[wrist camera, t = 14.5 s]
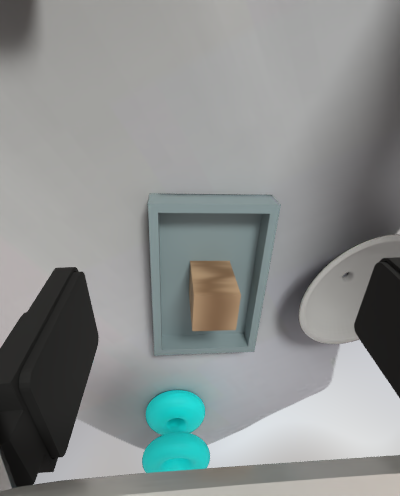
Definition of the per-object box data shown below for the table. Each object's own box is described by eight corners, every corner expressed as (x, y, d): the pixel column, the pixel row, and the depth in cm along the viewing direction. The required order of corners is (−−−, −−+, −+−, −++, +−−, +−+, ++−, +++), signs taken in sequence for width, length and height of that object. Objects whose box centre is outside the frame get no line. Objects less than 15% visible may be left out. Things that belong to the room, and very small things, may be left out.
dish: (326, 334, 47) (342, 359, 42) (262, 289, 42) (273, 314, 37) (426, 255, 41) (456, 276, 37) (367, 193, 36) (394, 208, 31)
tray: (271, 195, 35) (280, 204, 32) (249, 335, 45) (254, 351, 43) (149, 193, 34) (147, 203, 31) (155, 338, 44) (154, 355, 41)
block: (229, 260, 38) (241, 294, 32) (225, 292, 40) (235, 330, 34) (190, 260, 38) (193, 295, 31) (188, 293, 40) (192, 331, 34)
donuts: (210, 446, 41) (211, 482, 46) (203, 383, 50) (205, 418, 55) (136, 455, 41) (146, 490, 46) (142, 389, 49) (150, 425, 54)
